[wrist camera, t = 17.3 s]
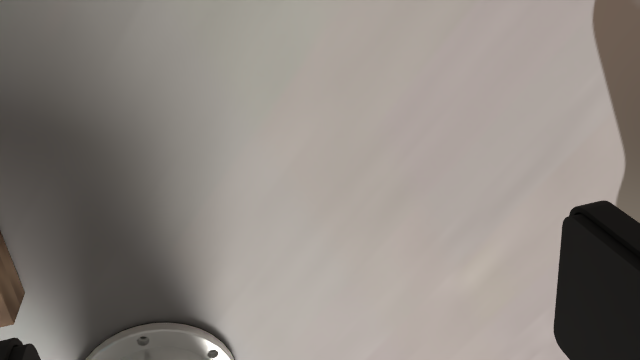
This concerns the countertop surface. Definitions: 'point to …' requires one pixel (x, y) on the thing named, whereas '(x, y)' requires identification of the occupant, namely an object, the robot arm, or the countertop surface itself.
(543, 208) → the countertop surface
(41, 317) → the countertop surface
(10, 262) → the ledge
